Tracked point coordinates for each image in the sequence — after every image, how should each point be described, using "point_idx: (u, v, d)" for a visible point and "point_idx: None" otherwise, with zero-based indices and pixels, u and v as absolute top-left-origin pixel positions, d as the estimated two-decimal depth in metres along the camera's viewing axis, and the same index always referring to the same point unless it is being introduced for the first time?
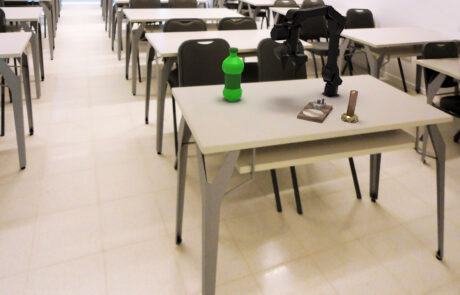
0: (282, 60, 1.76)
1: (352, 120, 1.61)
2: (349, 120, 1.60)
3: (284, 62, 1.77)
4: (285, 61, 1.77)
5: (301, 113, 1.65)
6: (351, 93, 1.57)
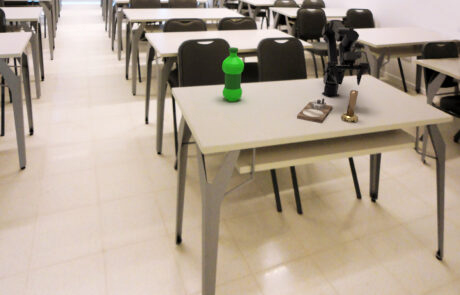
0: None
1: (352, 120, 1.61)
2: (349, 120, 1.60)
3: None
4: None
5: (301, 113, 1.65)
6: (351, 93, 1.57)
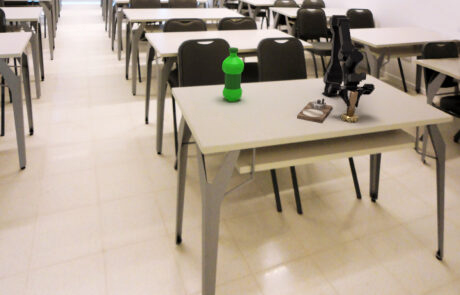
0: None
1: (352, 120, 1.61)
2: (349, 120, 1.60)
3: None
4: None
5: (301, 113, 1.65)
6: (351, 93, 1.57)
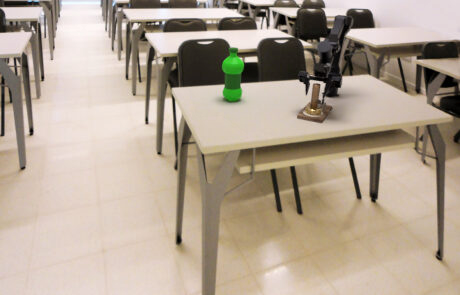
0: (308, 84, 1.63)
1: (312, 113, 1.63)
2: (308, 112, 1.63)
3: (308, 87, 1.63)
4: (308, 88, 1.64)
5: (301, 113, 1.65)
6: (313, 86, 1.60)
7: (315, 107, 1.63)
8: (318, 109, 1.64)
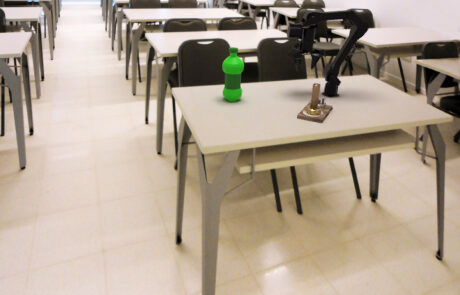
0: (312, 59, 1.86)
1: (312, 113, 1.63)
2: (308, 112, 1.63)
3: (313, 61, 1.86)
4: (315, 61, 1.85)
5: (301, 113, 1.65)
6: (313, 86, 1.60)
7: (315, 107, 1.63)
8: (318, 109, 1.64)
